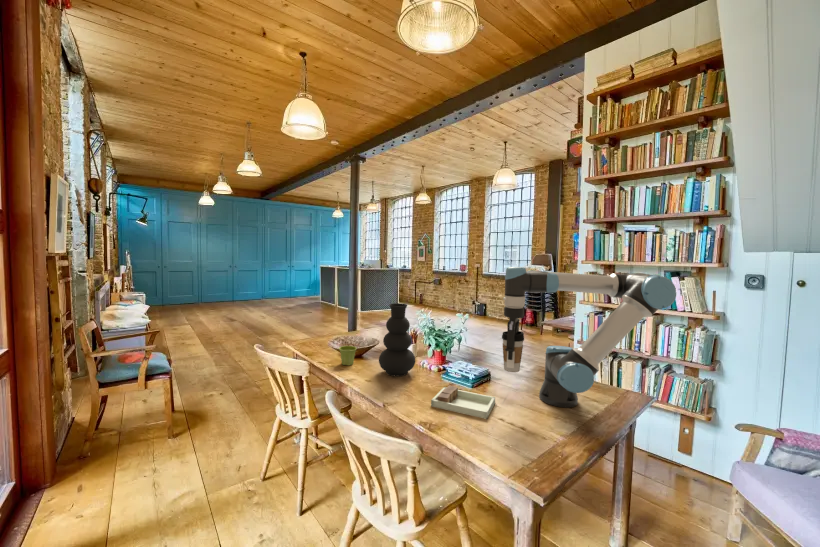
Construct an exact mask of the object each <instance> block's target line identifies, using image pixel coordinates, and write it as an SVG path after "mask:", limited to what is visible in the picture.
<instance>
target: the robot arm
mask: <svg viewBox="0 0 820 547" xmlns="http://www.w3.org/2000/svg"><path fill="white" fill-rule="evenodd" d="M558 291H559V292H563V291H564V292H572V293H584V294H585V293H587V294H588V293H589V294H598V295H601V294H602V295H608V296H609V297H611V298H619V299H622V302H621V303H620V304H619V305H618V306H617V307H616V308H615V309H614V310H613V311H612V312H611V314H610V315H608V317H607V318H605V320H604V321H603V322H602V323H601V324H599V326H598V327H597V328H596V329H595V330H594V332H592V334H590V336H588V338H587V339H586V340H585V341H583V343H582V344H581V345H580V346H579V347H571V346H564V345H550V346H549V345H548V346H547V347H546V348H545V353H544V354H545V360H544V361H545V362H544V364H545V365H544V380H543V383H542V384H541V387H540V390H539V395H538V397H539V400H541V401H542V402H543V403H546V404H548V405H551V406H554V407H559V408H574V407H577V405H578V404H579V403H578V401H579V397H578V394H580V393H581V394H582V393H585V392H587V391H588V390H590V389H591V388H592V387H593V385H594V382H595V375H596V374H597V373H598V372H599V371H600V368H599V364H600V363H601V362H602V361H603V360H605V358H606V357H607V356H608V355H609V354H610V353H611V352H612V351H613V350H614V349H615V348H616V347H617V345H619V343H621V341H622V340H623V339H624V338H626V336H627V335H628V334H629V333H630V332H631V331H632V330H633V329H634V328H635V327H636V326H637V325H638V324H639V323H640V322H641V321H642V320H643V319H644V318H646V317H652V316H653V315H654V314H655V313H656V312H657V311H658V310H663V309H667V308H668V307H670V306H672V305H673V303H674V302H675V301H676V298H677V288H676V285H675V284H674V283H673V281H672V280H671V279H670V278H668V277H665V276H662V275H660V274H649V273H639V272H637V273H634V272H633V273H610V275H604V274H603V275H599V274H586V273H571V272H570V273H569V272H556V271H555V272H554V271H540V270H534V269H532V270H527V269H526V267H523V266H522V267H521V266H508V267H506V270H505V277H504V297H503V298H502V300H503V301H504V307H503V316H504V317H506V318H509V320H508V321H507V325H506V326H507V347H506V349H505V351H507V367H508V368H514V357H515V351H514V346H515V335H516V334H517V332H518V331H520V319H523V318H524V316H525V308H524V307H525V304H526V303H525V302H526V301H525V300H526V293H547V294H550V293H557V292H558ZM509 347H511V348H509Z"/></svg>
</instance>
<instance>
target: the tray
mask: <svg viewBox="0 0 820 547" xmlns="http://www.w3.org/2000/svg"><path fill="white" fill-rule="evenodd" d="M447 387H448V386H447ZM447 387H446V386H444V387H442V388H441V389H440V391H438V392H437V394H436V395H435V396H434V397H432V399H430V401H431V402H430V405H431V407H432V408H436V409H441V410H446V411H450V412H455V413H459V414H464V415H467V416H472V417H476V418H481V419H484V420H487V419H488V418H489V416H490V414H491V412H492V411H493V410H492V409H493V407H494V406H495V404H496V397H495V396H491V395H488V394H487V395H485V394H481V393H478V392H477V393H476V392H471V391H467V390H461V389H458V397H457V398H456V399H455V400H453V401H452V402H451V403H448V402H443V401H439V400H438V396H439V394H440V393H441V392H442V391H443V390H444V389H446V388H447Z"/></svg>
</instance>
